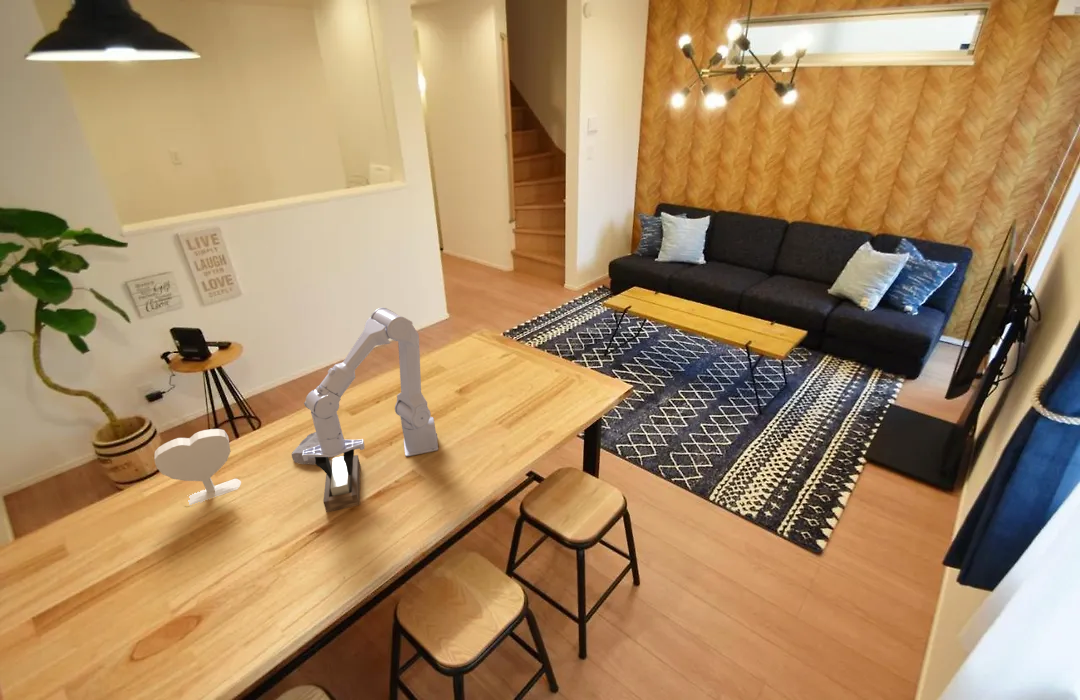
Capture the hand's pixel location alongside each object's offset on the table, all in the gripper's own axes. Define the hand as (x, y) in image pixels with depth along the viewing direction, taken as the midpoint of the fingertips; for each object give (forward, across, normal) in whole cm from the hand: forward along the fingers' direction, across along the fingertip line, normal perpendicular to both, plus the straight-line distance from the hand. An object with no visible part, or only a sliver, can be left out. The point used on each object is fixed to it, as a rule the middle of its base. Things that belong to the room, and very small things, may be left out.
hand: (340, 474), depth 128 cm
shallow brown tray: (+4, 0, 0) cm, 4 cm away
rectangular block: (+3, 0, 0) cm, 3 cm away
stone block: (+5, +9, -18) cm, 21 cm away
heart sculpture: (+5, +34, -9) cm, 35 cm away
